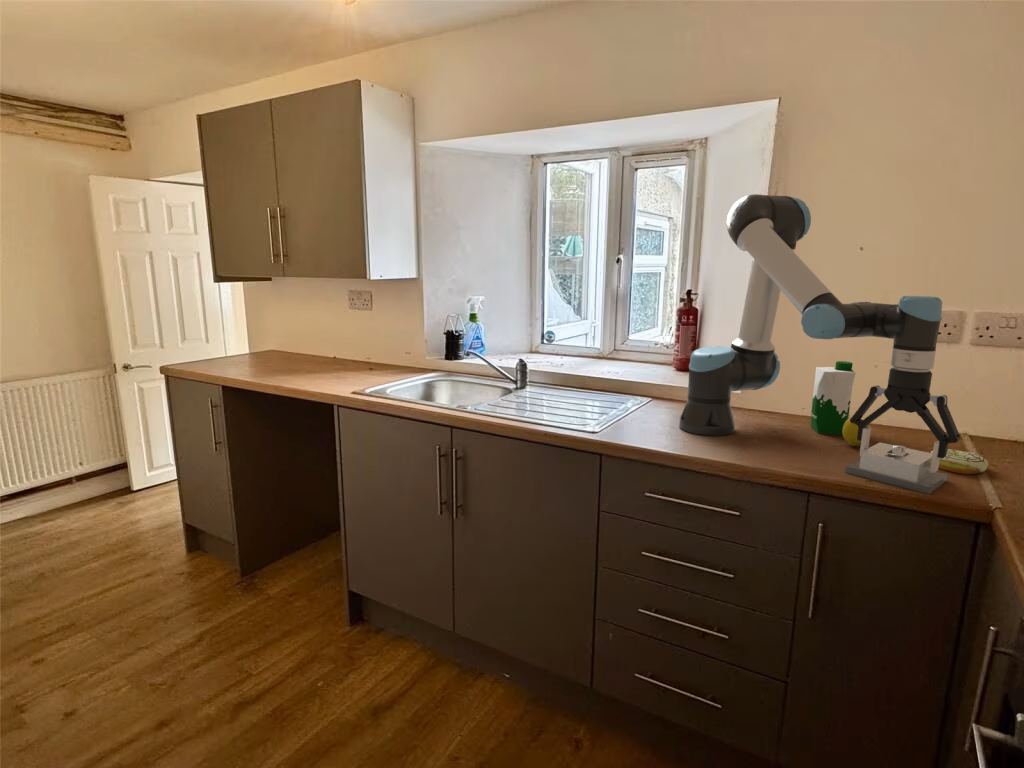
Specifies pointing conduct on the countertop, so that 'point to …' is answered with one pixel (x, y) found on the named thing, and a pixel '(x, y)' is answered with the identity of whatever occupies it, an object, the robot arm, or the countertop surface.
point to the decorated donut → (963, 462)
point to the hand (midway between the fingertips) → (897, 463)
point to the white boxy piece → (896, 462)
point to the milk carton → (832, 398)
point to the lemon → (850, 432)
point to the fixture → (922, 486)
